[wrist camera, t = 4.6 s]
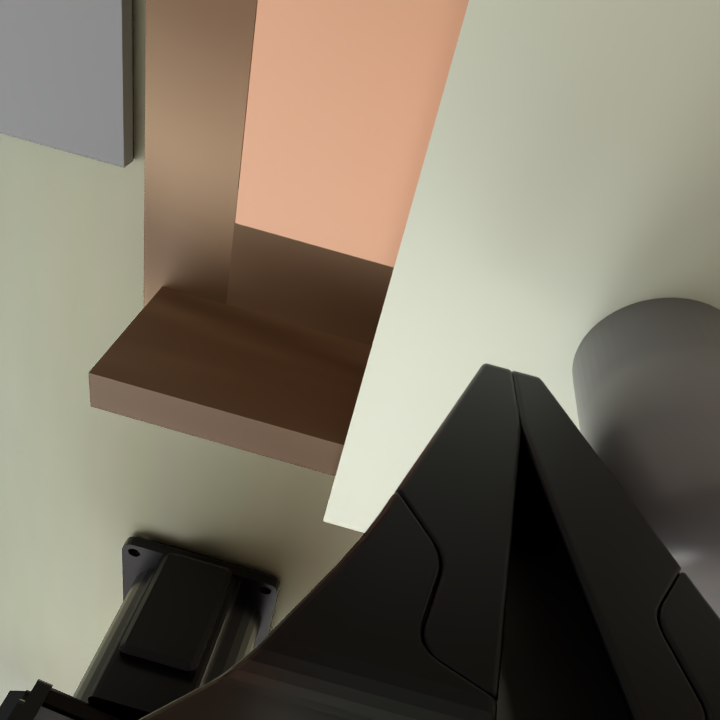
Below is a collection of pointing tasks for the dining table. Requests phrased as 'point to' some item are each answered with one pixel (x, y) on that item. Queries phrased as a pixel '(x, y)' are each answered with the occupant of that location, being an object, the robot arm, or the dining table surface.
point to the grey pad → (68, 76)
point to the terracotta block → (343, 118)
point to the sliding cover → (566, 256)
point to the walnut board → (231, 271)
